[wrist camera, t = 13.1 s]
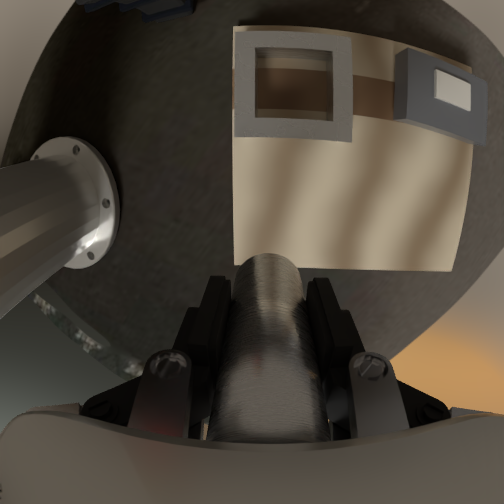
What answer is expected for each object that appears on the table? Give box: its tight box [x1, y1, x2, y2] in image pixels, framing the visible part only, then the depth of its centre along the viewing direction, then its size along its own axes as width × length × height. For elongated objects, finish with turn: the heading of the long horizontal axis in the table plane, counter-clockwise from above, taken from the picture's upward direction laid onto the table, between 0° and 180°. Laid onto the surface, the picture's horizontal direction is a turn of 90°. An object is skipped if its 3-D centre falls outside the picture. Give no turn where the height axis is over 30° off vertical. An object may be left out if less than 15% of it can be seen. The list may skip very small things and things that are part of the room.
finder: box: [393, 47, 488, 146], centre depth 14 cm, size 7×5×3 cm
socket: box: [234, 31, 353, 143], centre depth 15 cm, size 7×7×2 cm
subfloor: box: [232, 25, 473, 271], centre depth 18 cm, size 19×18×1 cm
